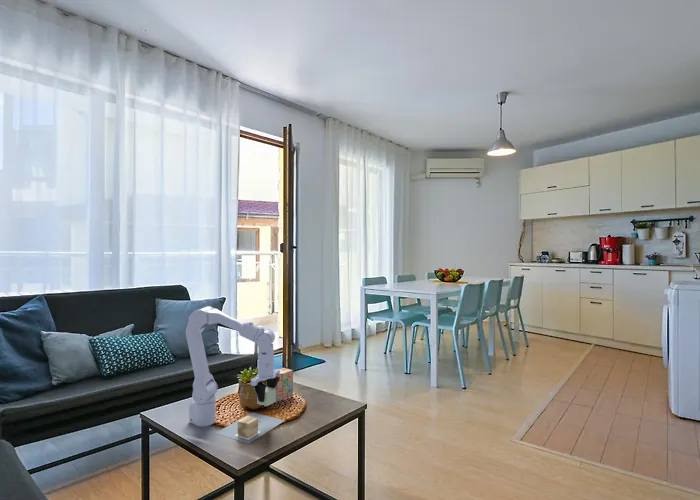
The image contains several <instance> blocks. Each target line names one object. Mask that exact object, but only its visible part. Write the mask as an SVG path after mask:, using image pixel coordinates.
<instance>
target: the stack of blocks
mask: <svg viewBox="0 0 700 500" xmlns="http://www.w3.org/2000/svg"><path fill="white" fill-rule="evenodd" d="M278 369H279V370H280V375H276V377H279V381H278V383H277V385H276V402H279V401H280V402H282V401H281V400H284V399H286V398H289V397H292V396H293V397H294V377H293V376H294V375H293V374H294V369H289V368H286V367H281V368H278ZM293 397H292V398H293ZM289 399H290V398H289ZM286 400H287V399H286ZM284 401H285V400H284Z"/></svg>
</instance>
